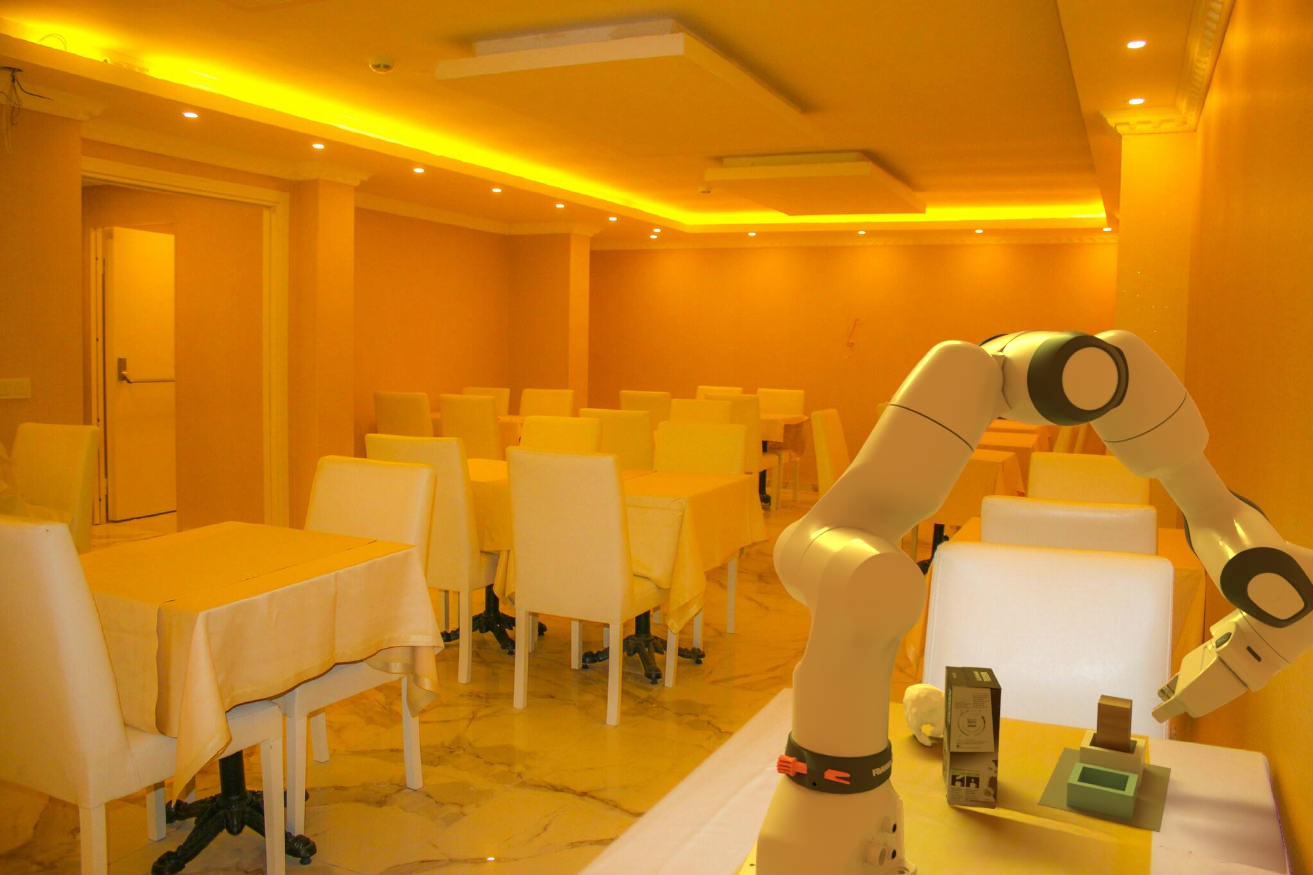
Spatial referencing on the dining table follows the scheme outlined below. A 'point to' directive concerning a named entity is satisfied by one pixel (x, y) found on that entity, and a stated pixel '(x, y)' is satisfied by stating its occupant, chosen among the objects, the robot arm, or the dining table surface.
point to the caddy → (1109, 784)
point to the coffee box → (971, 735)
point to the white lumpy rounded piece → (924, 710)
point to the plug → (1114, 723)
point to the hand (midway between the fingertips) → (1158, 706)
